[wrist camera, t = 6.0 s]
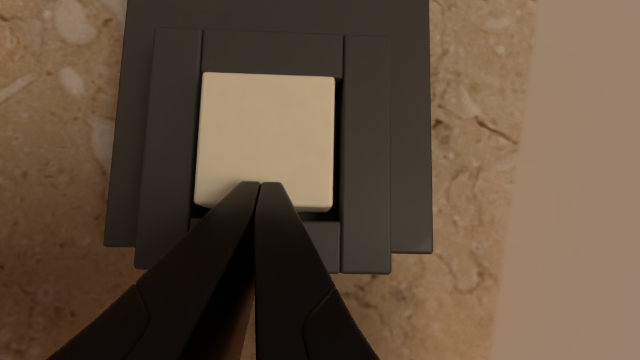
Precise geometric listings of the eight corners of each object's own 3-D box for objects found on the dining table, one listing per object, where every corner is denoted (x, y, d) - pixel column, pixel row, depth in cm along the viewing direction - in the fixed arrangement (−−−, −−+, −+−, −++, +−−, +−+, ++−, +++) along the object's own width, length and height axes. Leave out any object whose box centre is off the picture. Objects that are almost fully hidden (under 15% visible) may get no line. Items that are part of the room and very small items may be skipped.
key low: (327, 213, 11) (332, 207, 9) (210, 210, 11) (192, 203, 9) (330, 101, 11) (335, 75, 9) (217, 97, 11) (201, 70, 9)
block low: (393, 262, 17) (458, 276, 10) (164, 257, 16) (61, 267, 9) (392, -26, 18) (447, -186, 12) (186, -35, 18) (114, -207, 11)
